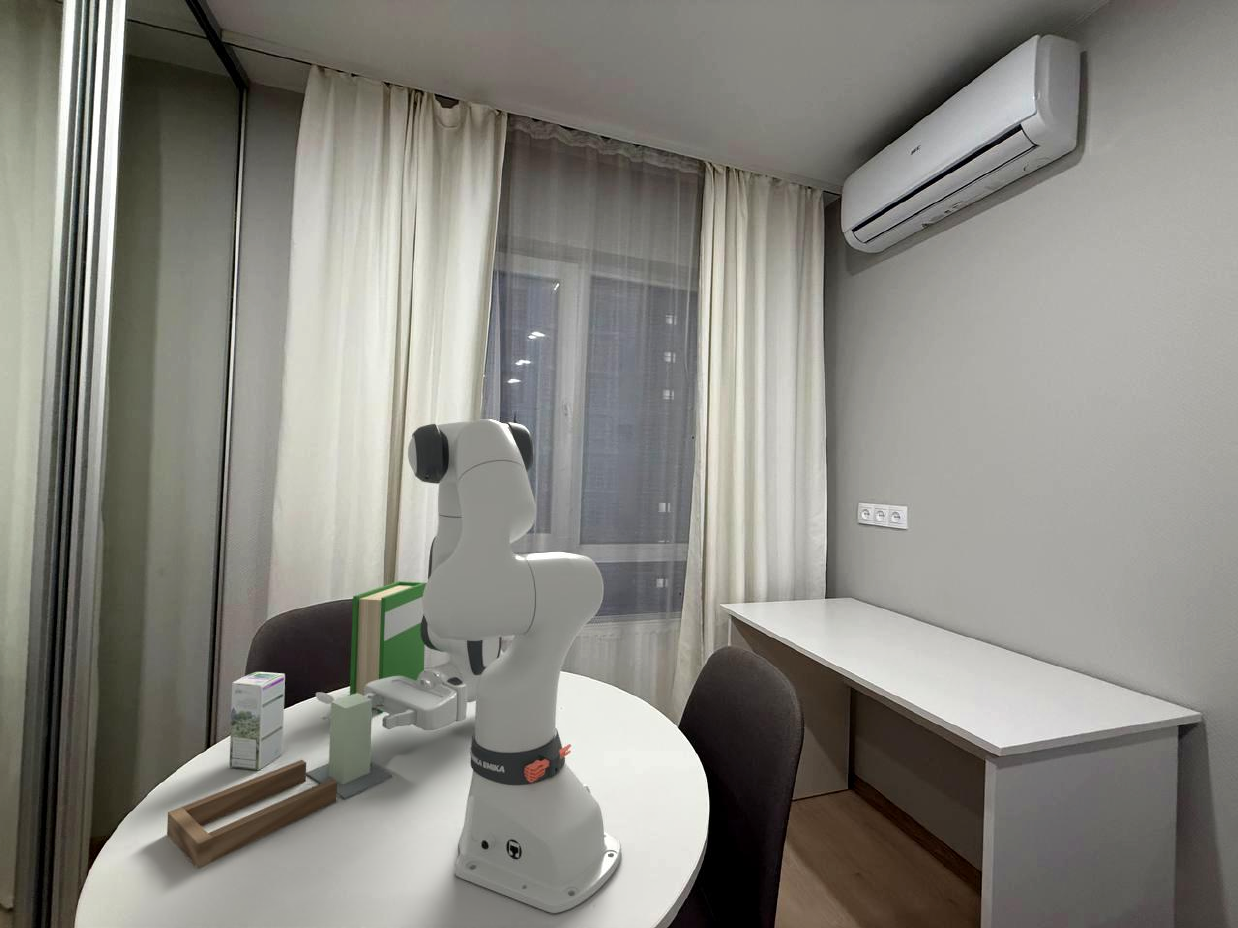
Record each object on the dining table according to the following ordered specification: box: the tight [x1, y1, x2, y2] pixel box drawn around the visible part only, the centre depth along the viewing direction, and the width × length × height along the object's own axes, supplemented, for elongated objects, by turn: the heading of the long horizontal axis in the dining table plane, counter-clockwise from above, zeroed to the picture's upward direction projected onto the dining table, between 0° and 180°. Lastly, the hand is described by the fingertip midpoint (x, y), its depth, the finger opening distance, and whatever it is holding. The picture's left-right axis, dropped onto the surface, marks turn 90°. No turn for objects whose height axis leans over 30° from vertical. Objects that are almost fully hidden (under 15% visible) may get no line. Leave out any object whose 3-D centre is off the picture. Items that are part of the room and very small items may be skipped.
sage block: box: [328, 693, 373, 785], centre depth 90 cm, size 4×4×12 cm
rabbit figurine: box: [315, 692, 342, 721], centre depth 110 cm, size 6×4×8 cm
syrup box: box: [229, 671, 286, 771], centre depth 94 cm, size 6×6×14 cm
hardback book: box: [349, 581, 427, 714], centre depth 123 cm, size 18×7×24 cm, turn 172°
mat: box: [306, 762, 393, 800], centre depth 90 cm, size 12×8×1 cm, turn 55°
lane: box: [166, 759, 338, 869], centre depth 78 cm, size 11×18×3 cm, turn 145°
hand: (368, 715), depth 92 cm, fingers open, 8 cm apart
